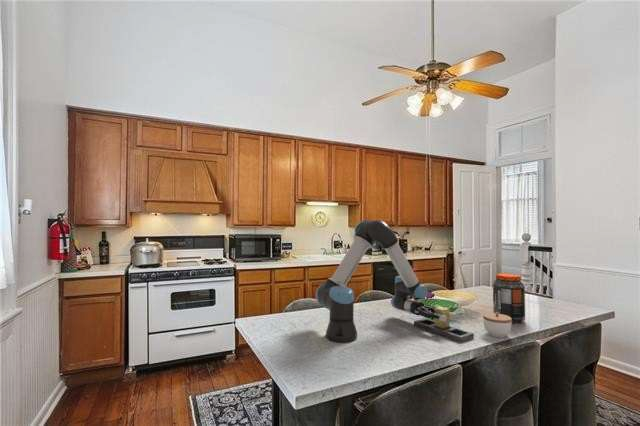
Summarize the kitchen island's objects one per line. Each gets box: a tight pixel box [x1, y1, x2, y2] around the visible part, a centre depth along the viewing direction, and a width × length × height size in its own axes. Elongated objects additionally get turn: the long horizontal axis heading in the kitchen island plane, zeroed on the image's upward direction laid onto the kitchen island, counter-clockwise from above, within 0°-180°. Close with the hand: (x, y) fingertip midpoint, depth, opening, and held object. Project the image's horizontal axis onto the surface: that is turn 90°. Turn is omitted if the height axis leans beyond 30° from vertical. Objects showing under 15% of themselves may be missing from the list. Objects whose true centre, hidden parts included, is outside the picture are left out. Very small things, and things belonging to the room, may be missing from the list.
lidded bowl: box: [482, 312, 513, 338], centre depth 159 cm, size 13×13×11 cm
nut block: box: [434, 306, 450, 330], centre depth 163 cm, size 5×5×12 cm
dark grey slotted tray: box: [413, 317, 475, 344], centre depth 162 cm, size 10×28×2 cm, turn 32°
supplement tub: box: [492, 272, 526, 324], centre depth 183 cm, size 16×16×26 cm
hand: (450, 317), depth 158 cm, fingers open, 7 cm apart
